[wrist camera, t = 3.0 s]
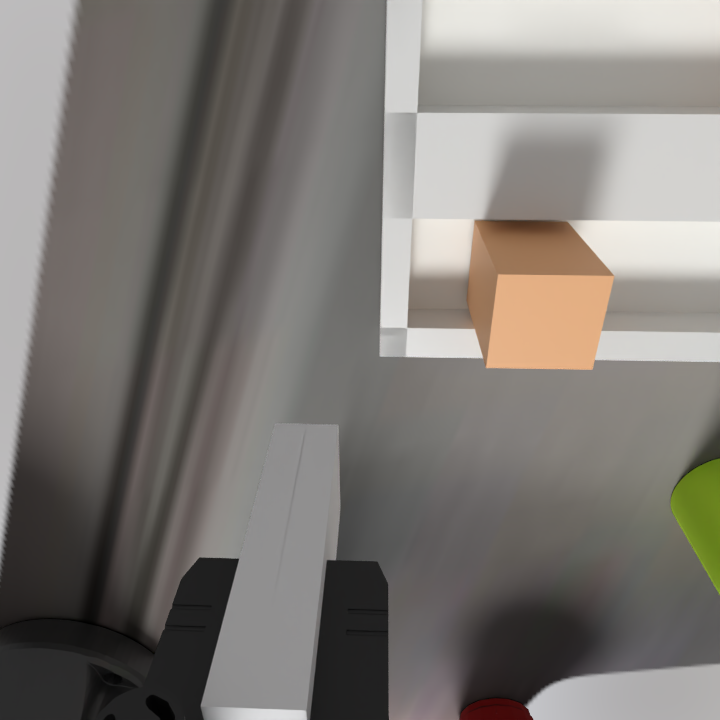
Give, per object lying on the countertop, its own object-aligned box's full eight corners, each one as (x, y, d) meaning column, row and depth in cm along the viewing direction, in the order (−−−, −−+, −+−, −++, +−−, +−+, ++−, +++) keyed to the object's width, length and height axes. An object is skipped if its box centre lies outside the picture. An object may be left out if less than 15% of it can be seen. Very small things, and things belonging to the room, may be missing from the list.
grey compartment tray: (379, 326, 30) (379, 358, 27) (388, -96, 21) (389, -110, 19) (823, 332, 29) (869, 366, 27) (1018, -97, 21) (1115, -113, 18)
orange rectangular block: (466, 300, 28) (485, 367, 23) (474, 220, 26) (498, 274, 21) (552, 301, 28) (592, 369, 22) (567, 221, 26) (614, 275, 21)
